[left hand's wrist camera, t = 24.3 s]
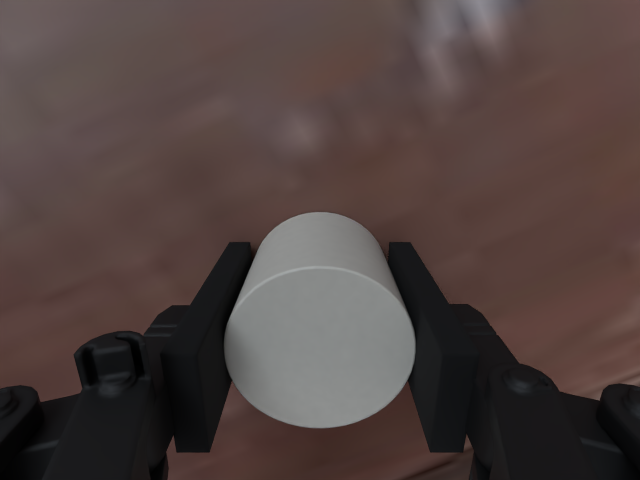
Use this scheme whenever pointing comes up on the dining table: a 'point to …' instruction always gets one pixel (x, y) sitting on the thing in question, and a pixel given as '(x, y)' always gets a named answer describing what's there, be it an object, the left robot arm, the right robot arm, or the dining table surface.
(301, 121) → the dining table surface
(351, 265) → the grey solid cylinder
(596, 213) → the dining table surface
